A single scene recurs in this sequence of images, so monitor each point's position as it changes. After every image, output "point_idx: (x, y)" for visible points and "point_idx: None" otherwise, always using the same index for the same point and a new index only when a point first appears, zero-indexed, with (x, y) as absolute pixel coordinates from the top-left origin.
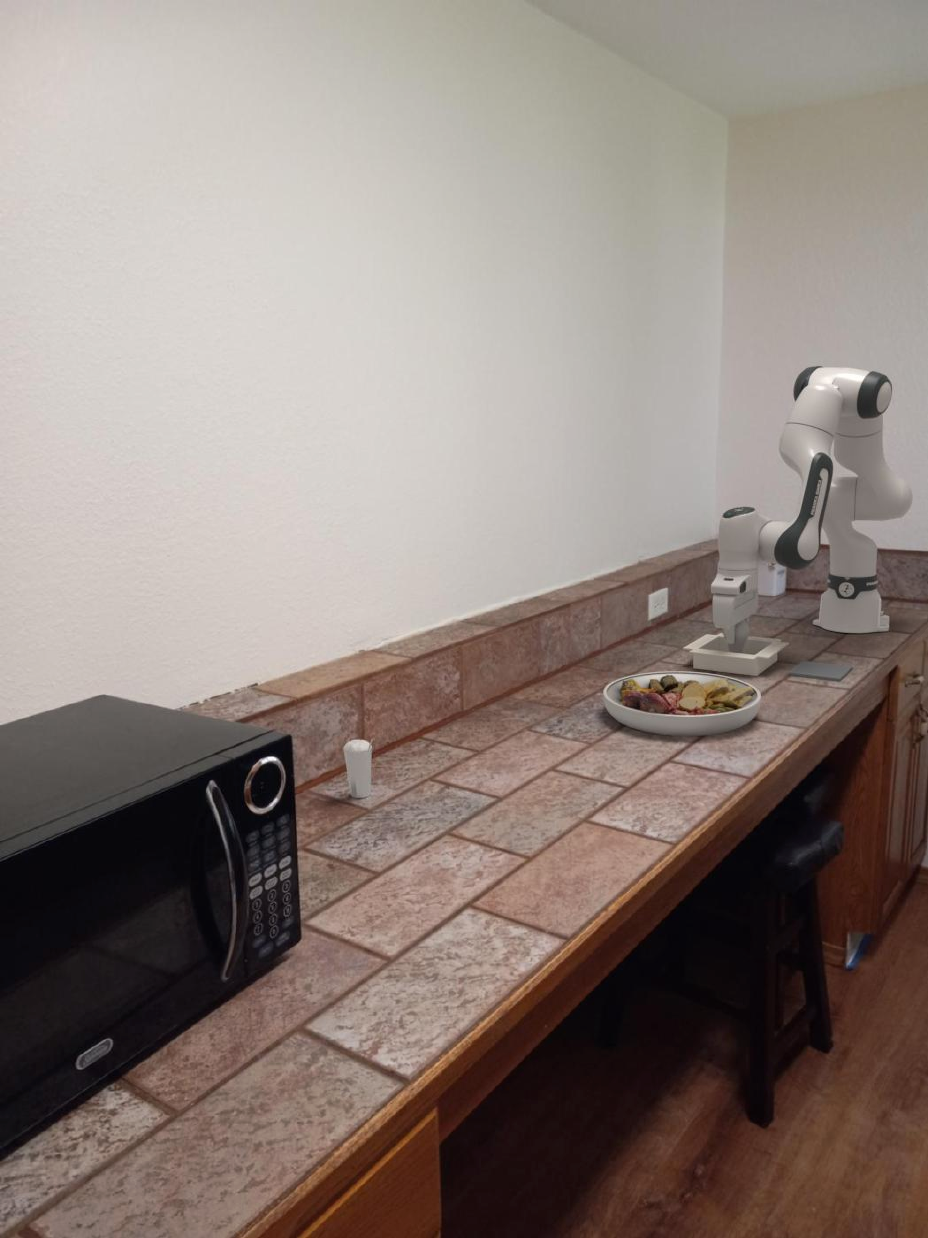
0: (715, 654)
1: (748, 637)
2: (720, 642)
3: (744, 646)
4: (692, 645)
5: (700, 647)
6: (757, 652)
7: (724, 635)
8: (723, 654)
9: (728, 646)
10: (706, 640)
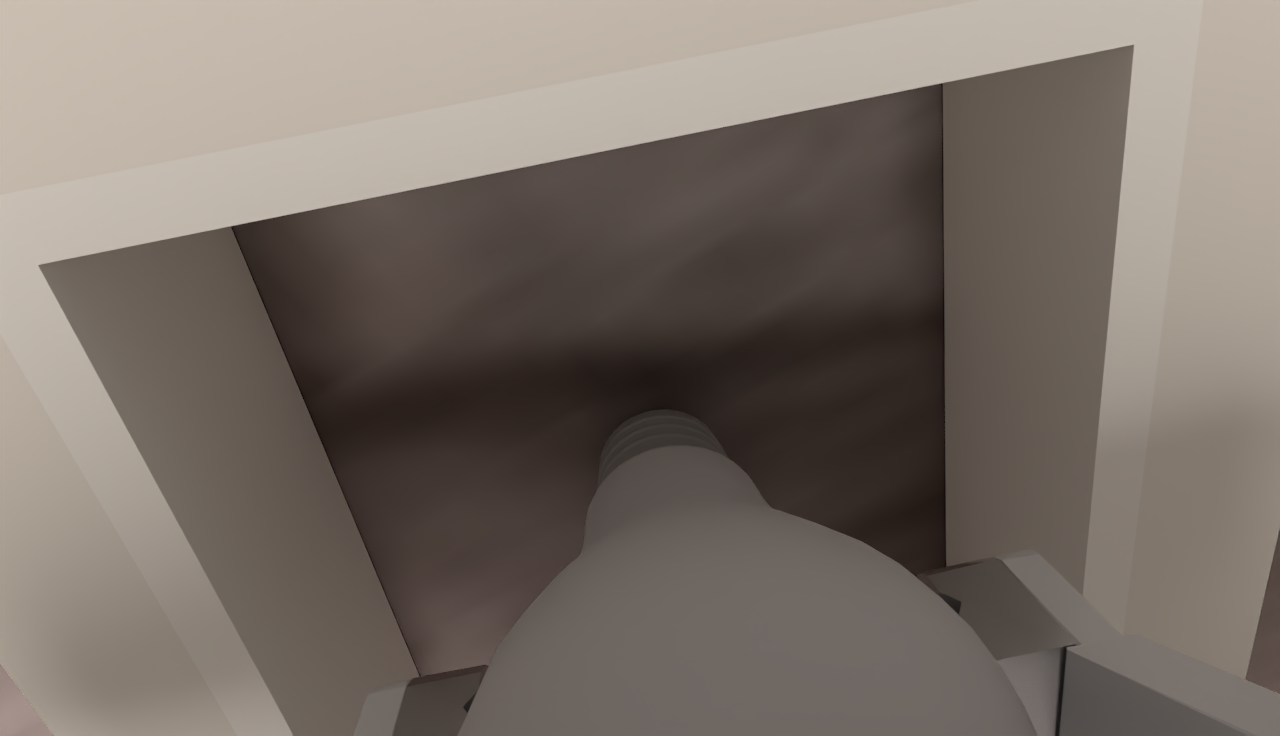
0: (3, 663)
1: (1207, 479)
2: (1052, 88)
3: (1020, 436)
4: (134, 14)
5: (164, 237)
6: (982, 540)
7: (505, 640)
8: (111, 725)
9: (613, 509)
10: (703, 27)
